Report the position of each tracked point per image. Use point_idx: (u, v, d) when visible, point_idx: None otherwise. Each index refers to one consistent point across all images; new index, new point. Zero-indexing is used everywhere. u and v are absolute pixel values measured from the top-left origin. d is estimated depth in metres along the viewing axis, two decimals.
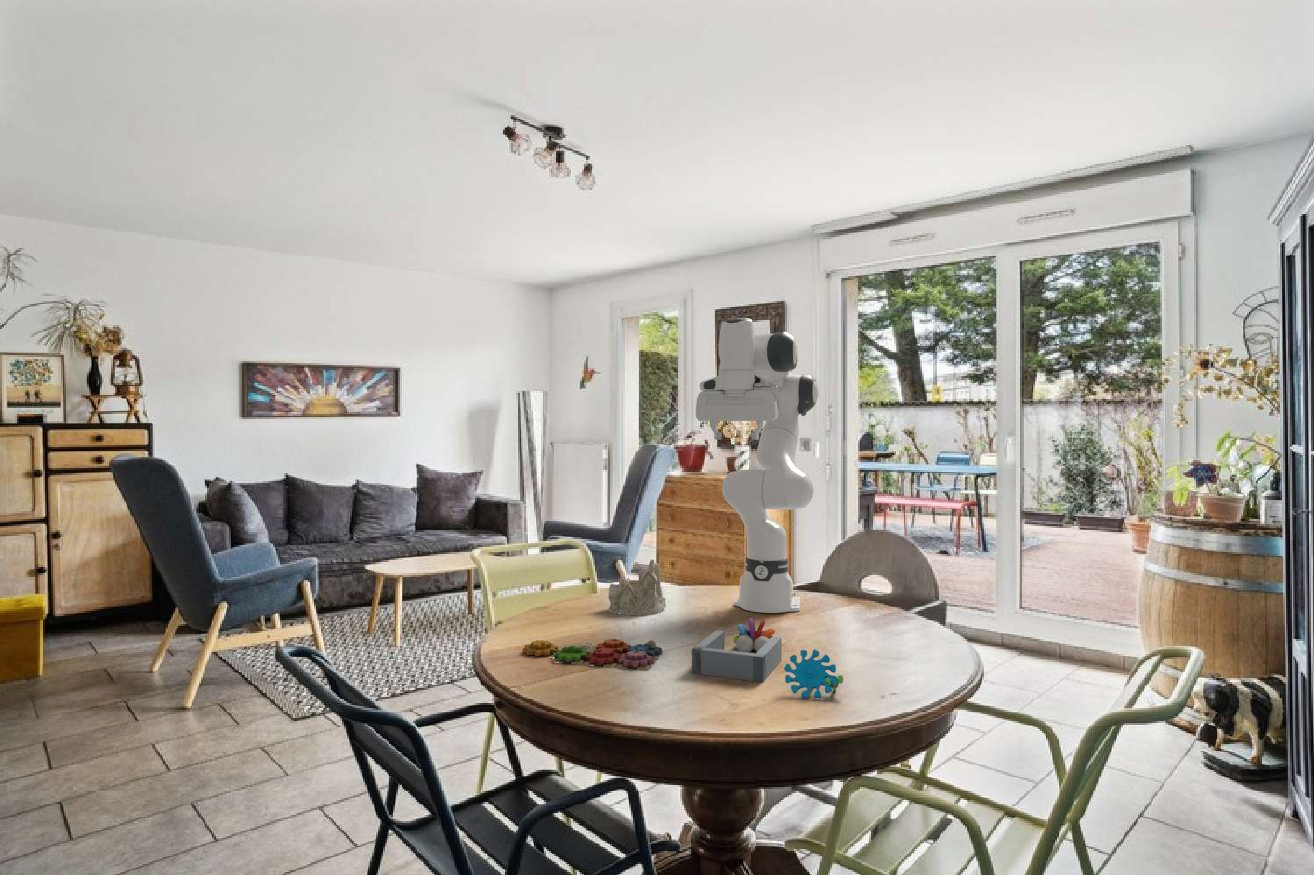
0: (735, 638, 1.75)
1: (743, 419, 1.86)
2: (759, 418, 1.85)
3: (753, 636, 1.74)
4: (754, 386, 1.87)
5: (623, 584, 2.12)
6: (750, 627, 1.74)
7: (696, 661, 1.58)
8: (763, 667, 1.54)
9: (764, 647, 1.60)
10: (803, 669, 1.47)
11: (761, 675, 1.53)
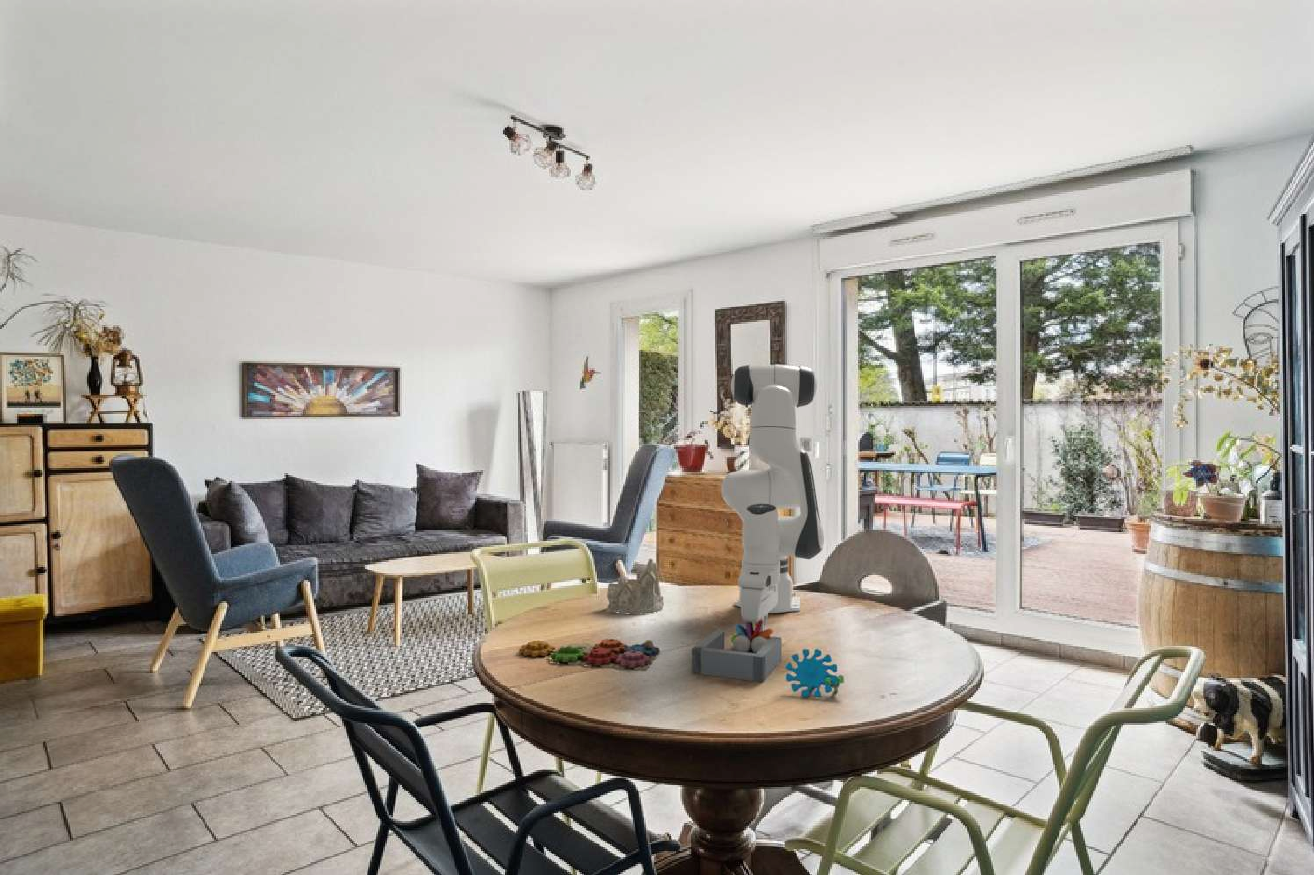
0: (732, 638, 1.75)
1: (770, 610, 1.82)
2: (774, 606, 1.86)
3: (750, 636, 1.73)
4: None
5: (622, 583, 2.13)
6: (748, 627, 1.73)
7: (696, 661, 1.58)
8: (763, 667, 1.54)
9: (764, 647, 1.60)
10: (804, 668, 1.48)
11: (761, 675, 1.53)
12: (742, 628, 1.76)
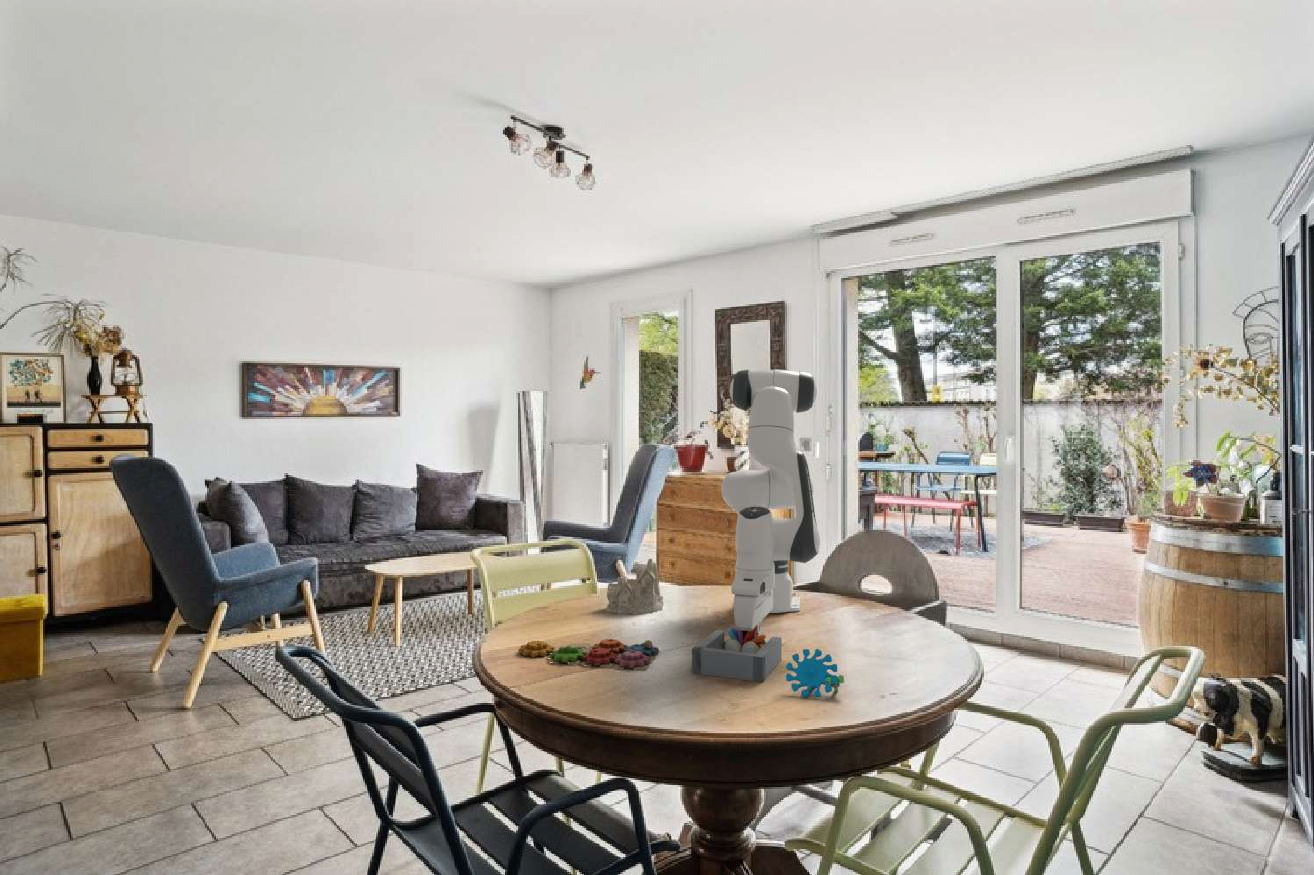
0: (725, 642, 1.72)
1: None
2: (769, 611, 1.80)
3: (741, 640, 1.69)
4: None
5: (621, 583, 2.13)
6: (739, 631, 1.70)
7: (696, 661, 1.58)
8: (763, 667, 1.54)
9: (764, 647, 1.60)
10: (804, 668, 1.48)
11: (761, 675, 1.53)
12: (736, 632, 1.72)
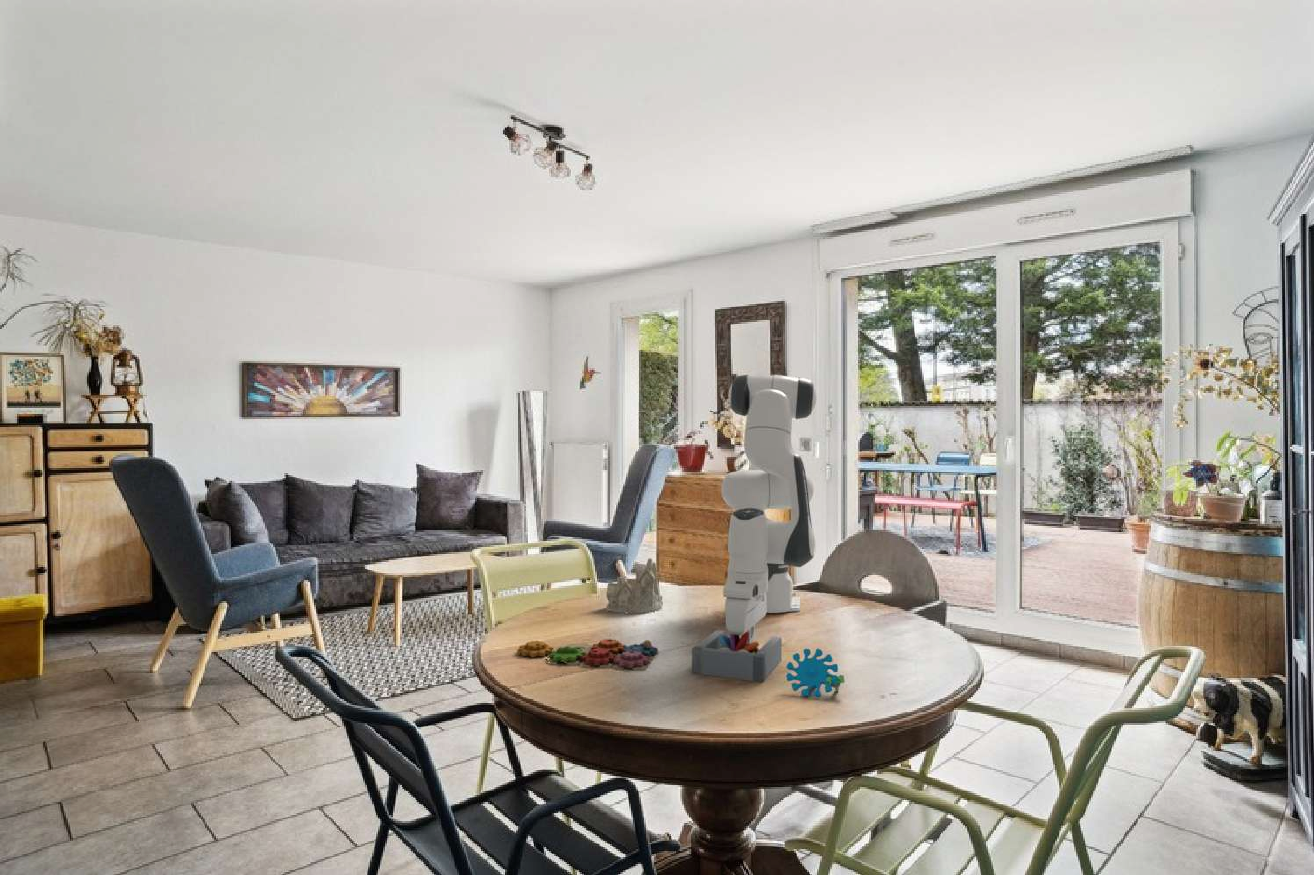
0: None
1: None
2: (762, 616, 1.75)
3: (733, 648, 1.63)
4: None
5: (621, 583, 2.14)
6: (731, 638, 1.64)
7: (696, 661, 1.58)
8: (763, 667, 1.54)
9: (764, 647, 1.60)
10: (804, 668, 1.48)
11: (761, 675, 1.53)
12: (727, 640, 1.66)
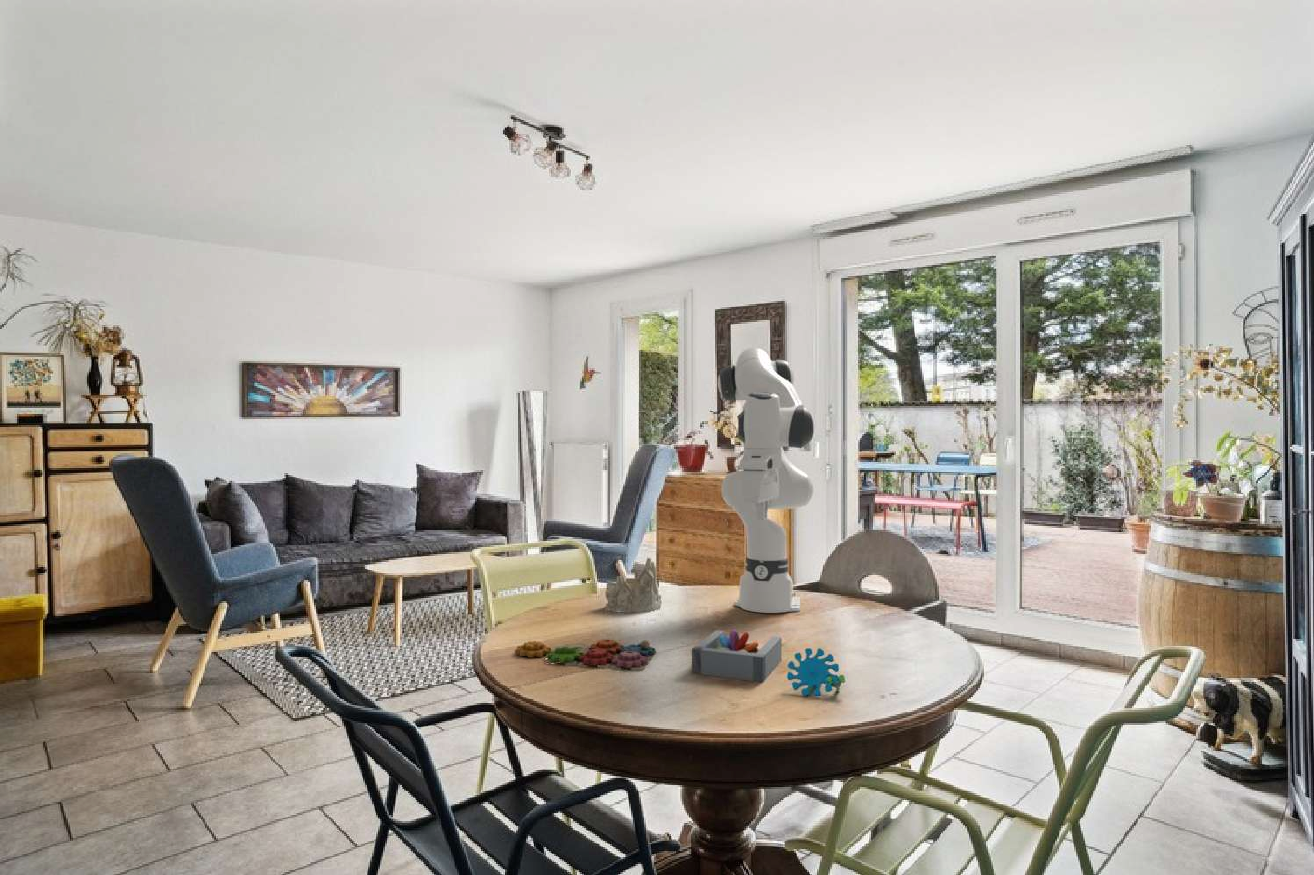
0: None
1: (771, 498, 1.82)
2: (775, 496, 1.86)
3: (733, 649, 1.63)
4: None
5: (620, 582, 2.14)
6: (731, 639, 1.64)
7: (696, 661, 1.58)
8: (763, 667, 1.54)
9: (764, 647, 1.60)
10: (805, 667, 1.49)
11: (761, 675, 1.53)
12: (727, 640, 1.66)
